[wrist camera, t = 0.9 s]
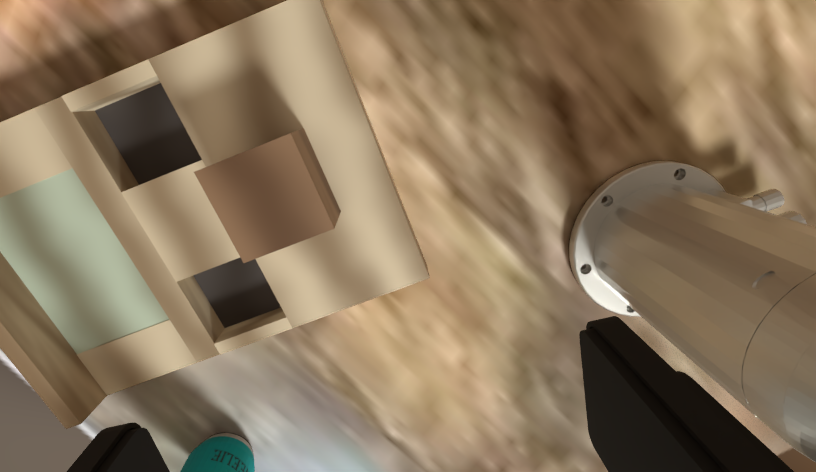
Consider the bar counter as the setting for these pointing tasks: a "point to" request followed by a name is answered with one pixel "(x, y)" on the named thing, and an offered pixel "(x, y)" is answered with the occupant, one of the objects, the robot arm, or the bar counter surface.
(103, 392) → the trap board
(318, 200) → the walnut block
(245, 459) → the beverage can
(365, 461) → the bar counter surface
